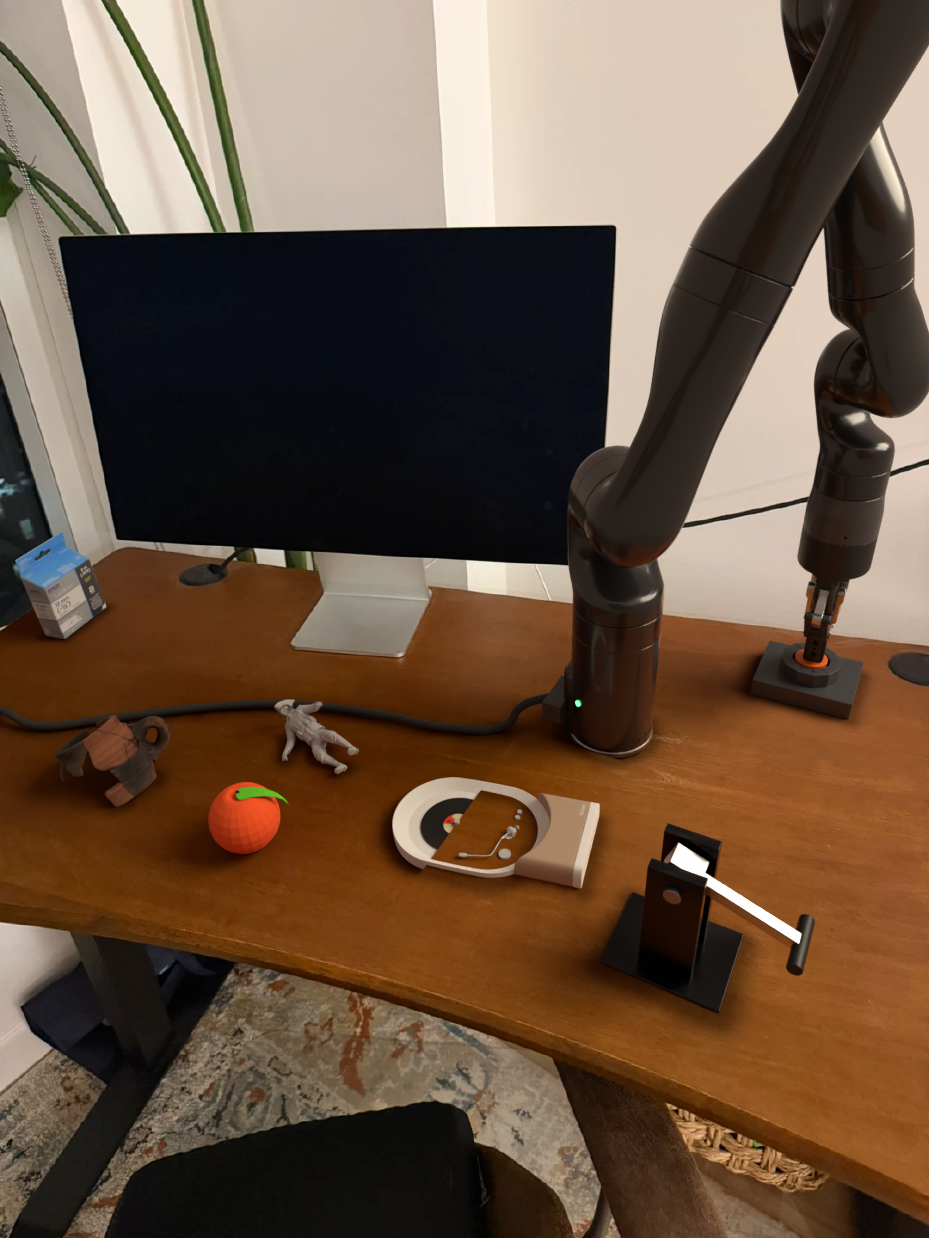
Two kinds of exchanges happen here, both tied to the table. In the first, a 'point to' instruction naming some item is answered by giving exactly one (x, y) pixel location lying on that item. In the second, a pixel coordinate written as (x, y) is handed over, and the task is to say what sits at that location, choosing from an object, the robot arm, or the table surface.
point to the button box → (807, 680)
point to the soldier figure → (311, 733)
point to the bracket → (676, 928)
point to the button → (807, 663)
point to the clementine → (244, 817)
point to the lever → (750, 909)
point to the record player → (551, 858)
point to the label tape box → (60, 587)
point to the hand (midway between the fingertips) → (813, 657)
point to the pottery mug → (118, 754)
